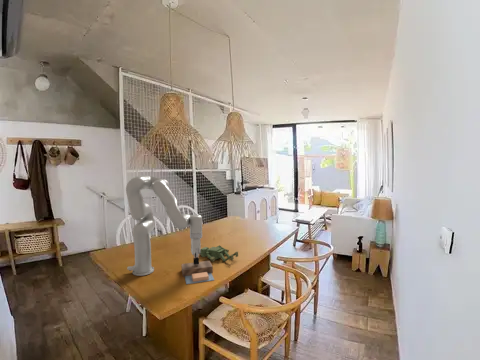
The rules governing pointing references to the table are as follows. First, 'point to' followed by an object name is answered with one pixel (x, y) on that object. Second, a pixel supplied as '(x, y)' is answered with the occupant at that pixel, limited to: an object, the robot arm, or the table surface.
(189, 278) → the mat
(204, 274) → the tan flat block
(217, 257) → the toy
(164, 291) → the table surface
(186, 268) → the plate
